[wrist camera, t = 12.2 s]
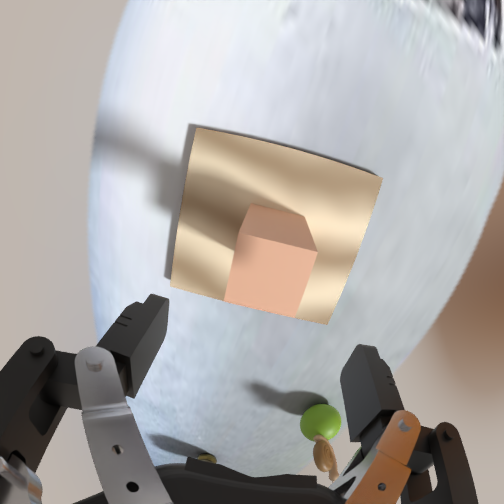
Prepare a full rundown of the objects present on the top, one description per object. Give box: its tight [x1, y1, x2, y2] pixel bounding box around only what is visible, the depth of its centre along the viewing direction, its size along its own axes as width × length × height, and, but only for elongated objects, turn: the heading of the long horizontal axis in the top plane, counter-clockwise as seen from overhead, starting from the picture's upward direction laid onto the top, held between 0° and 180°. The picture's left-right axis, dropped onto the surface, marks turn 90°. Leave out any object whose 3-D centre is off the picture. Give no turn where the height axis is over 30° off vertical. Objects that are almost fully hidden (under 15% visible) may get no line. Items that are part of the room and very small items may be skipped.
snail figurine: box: [300, 404, 341, 481], centre depth 28 cm, size 5×6×12 cm
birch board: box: [170, 128, 383, 325], centre depth 24 cm, size 15×16×1 cm
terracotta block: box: [224, 203, 318, 318], centre depth 20 cm, size 5×5×8 cm
